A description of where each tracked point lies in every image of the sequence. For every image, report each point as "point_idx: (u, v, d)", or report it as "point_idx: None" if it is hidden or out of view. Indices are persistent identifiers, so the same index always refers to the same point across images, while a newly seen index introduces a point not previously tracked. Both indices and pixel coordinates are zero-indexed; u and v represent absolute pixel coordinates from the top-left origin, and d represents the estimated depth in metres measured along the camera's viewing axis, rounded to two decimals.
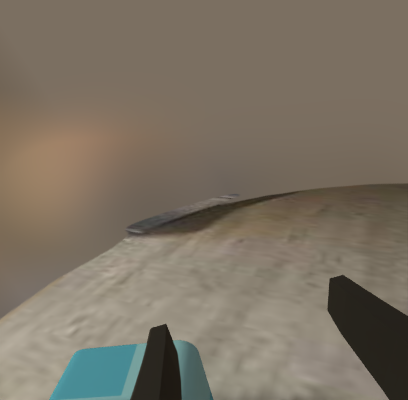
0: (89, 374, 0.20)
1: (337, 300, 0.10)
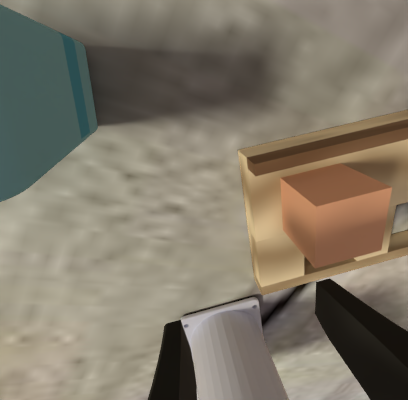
0: None
1: (323, 304, 0.10)
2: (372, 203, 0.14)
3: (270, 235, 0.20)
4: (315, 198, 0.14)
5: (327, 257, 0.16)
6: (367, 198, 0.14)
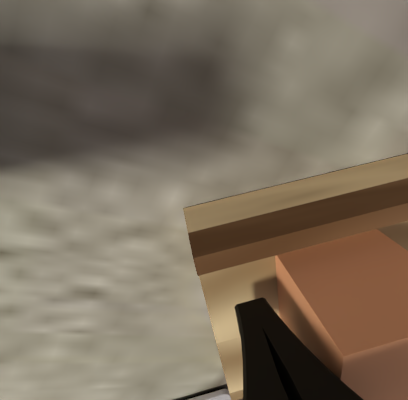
0: None
1: None
2: None
3: (238, 334, 0.13)
4: (339, 325, 0.08)
5: None
6: None
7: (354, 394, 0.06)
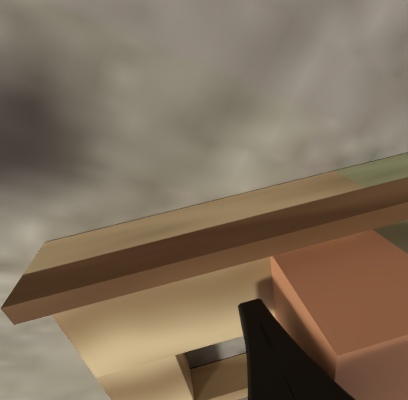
0: None
1: None
2: None
3: (118, 368, 0.12)
4: (333, 324, 0.08)
5: None
6: None
7: (348, 396, 0.06)
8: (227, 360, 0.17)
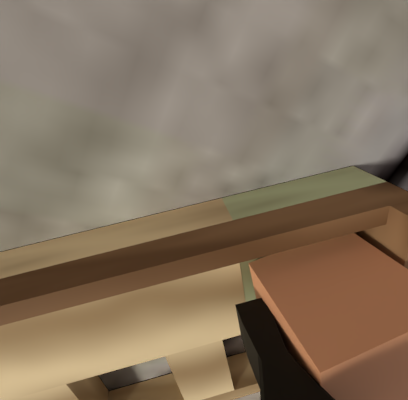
0: None
1: (241, 327, 0.10)
2: None
3: (5, 397, 0.12)
4: (314, 338, 0.07)
5: None
6: None
7: None
8: (146, 382, 0.17)
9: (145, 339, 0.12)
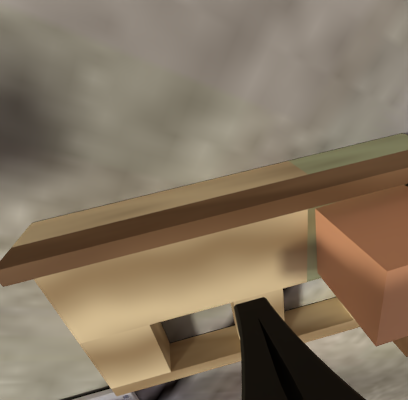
0: None
1: None
2: None
3: (99, 335, 0.14)
4: (380, 252, 0.09)
5: (395, 331, 0.10)
6: None
7: (355, 394, 0.06)
8: (203, 335, 0.19)
9: (220, 284, 0.14)
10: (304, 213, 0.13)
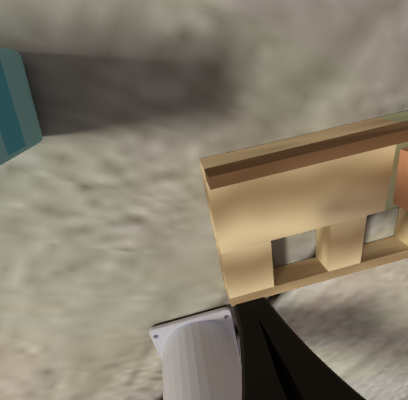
0: None
1: None
2: None
3: (235, 247, 0.19)
4: None
5: None
6: None
7: (355, 394, 0.06)
8: (291, 264, 0.24)
9: (326, 208, 0.19)
10: (392, 153, 0.18)
